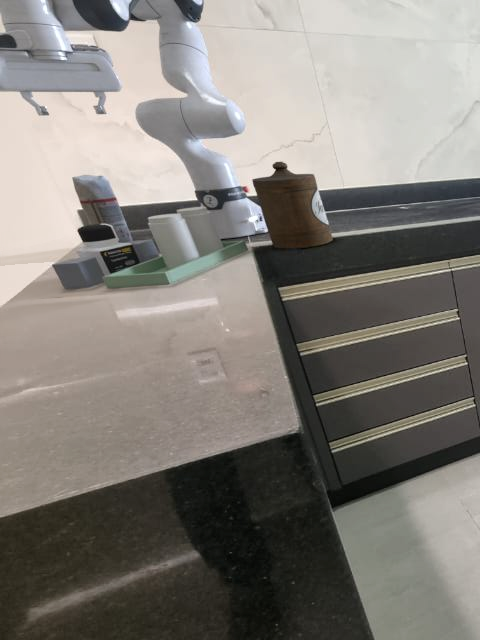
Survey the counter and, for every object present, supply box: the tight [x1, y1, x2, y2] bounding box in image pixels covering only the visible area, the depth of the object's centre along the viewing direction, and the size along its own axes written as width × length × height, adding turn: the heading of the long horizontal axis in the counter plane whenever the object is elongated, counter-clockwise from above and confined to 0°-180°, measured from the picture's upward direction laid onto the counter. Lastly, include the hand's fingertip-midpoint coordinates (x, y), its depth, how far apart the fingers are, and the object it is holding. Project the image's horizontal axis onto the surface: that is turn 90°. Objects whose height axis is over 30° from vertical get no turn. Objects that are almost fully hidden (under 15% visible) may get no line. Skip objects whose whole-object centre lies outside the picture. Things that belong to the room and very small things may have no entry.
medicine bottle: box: [75, 224, 140, 276], centre depth 123 cm, size 7×7×12 cm
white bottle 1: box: [147, 213, 200, 270], centre depth 126 cm, size 7×7×12 cm
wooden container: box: [251, 161, 334, 250], centre depth 145 cm, size 15×15×22 cm
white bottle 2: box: [176, 206, 224, 257], centre depth 135 cm, size 7×7×12 cm
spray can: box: [71, 174, 134, 243], centre depth 158 cm, size 8×8×20 cm
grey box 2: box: [126, 239, 161, 263], centre depth 132 cm, size 5×5×6 cm
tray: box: [102, 240, 249, 289], centre depth 128 cm, size 32×13×3 cm, turn 7°
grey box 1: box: [51, 257, 105, 290], centre depth 116 cm, size 5×5×6 cm
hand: (73, 114), depth 117 cm, fingers open, 8 cm apart
